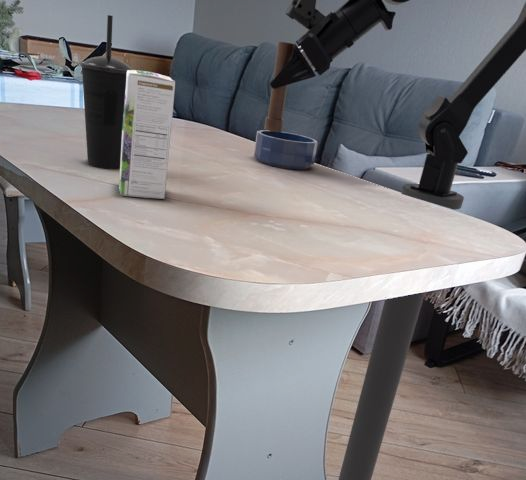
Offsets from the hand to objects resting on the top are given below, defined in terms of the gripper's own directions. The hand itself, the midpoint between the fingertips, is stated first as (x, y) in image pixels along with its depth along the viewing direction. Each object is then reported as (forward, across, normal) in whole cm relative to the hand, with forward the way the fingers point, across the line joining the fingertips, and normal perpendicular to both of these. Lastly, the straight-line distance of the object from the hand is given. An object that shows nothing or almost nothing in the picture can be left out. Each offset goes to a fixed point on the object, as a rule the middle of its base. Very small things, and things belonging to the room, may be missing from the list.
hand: (271, 85), depth 105 cm
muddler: (+4, 0, +6) cm, 7 cm away
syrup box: (+20, +33, 0) cm, 39 cm away
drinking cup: (+26, +20, -7) cm, 33 cm away
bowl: (+7, -7, +12) cm, 16 cm away
